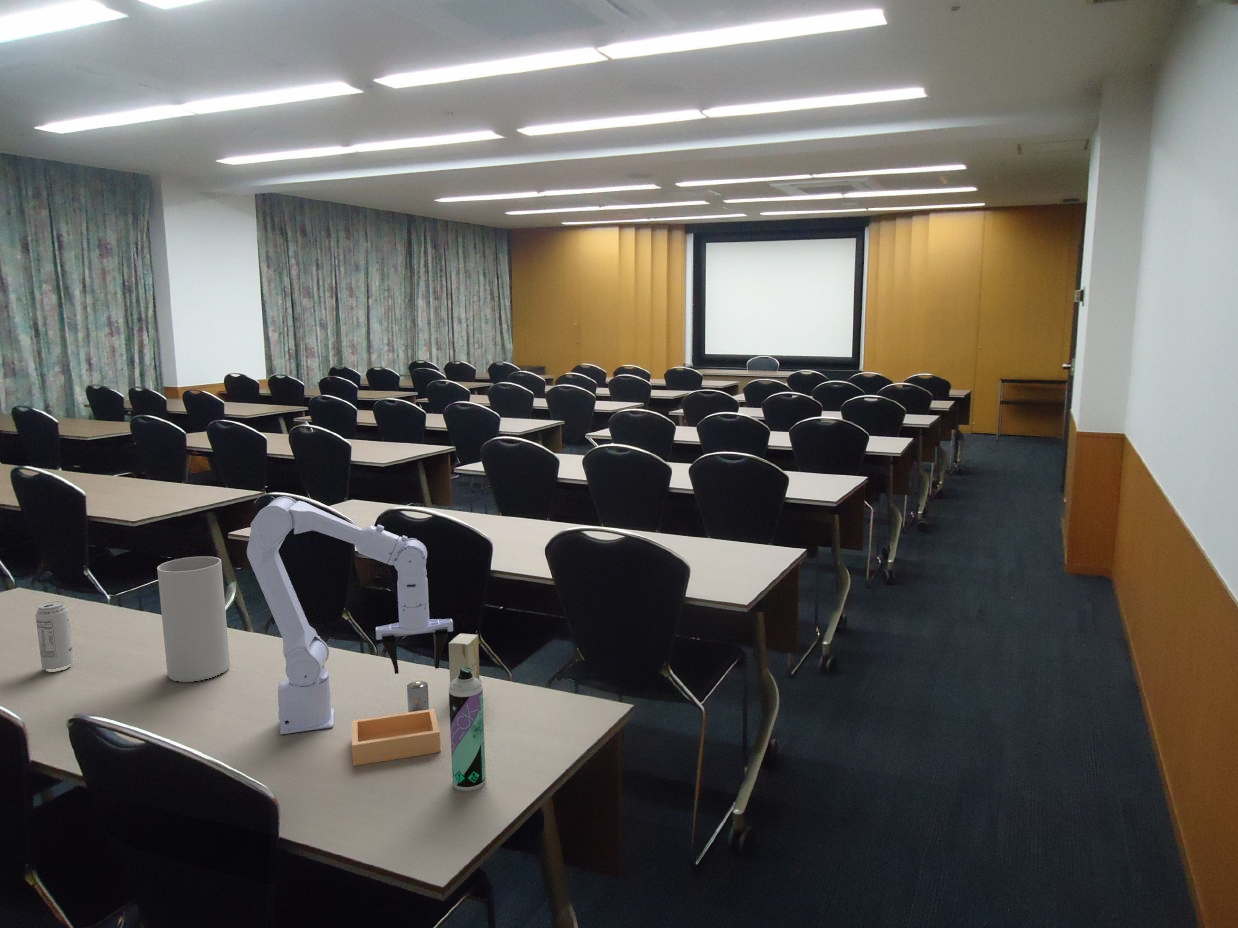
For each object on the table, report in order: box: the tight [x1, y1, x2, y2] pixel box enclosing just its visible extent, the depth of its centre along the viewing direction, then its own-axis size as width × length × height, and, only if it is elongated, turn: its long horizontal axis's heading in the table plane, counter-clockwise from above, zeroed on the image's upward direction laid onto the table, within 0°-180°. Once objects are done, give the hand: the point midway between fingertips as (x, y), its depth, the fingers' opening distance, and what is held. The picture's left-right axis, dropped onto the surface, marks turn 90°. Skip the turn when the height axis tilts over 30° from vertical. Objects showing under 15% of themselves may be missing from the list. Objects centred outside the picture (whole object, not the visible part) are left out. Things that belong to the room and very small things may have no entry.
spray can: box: [448, 667, 487, 792], centre depth 138 cm, size 6×6×20 cm
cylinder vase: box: [156, 556, 231, 683], centre depth 184 cm, size 12×12×25 cm
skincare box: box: [448, 633, 480, 683], centre depth 172 cm, size 6×4×12 cm
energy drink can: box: [35, 601, 75, 670], centre depth 188 cm, size 6×6×15 cm
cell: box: [406, 680, 430, 712], centre depth 164 cm, size 4×4×7 cm
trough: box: [351, 708, 442, 767], centre depth 152 cm, size 15×10×4 cm, turn 108°
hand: (416, 669), depth 163 cm, fingers open, 7 cm apart
